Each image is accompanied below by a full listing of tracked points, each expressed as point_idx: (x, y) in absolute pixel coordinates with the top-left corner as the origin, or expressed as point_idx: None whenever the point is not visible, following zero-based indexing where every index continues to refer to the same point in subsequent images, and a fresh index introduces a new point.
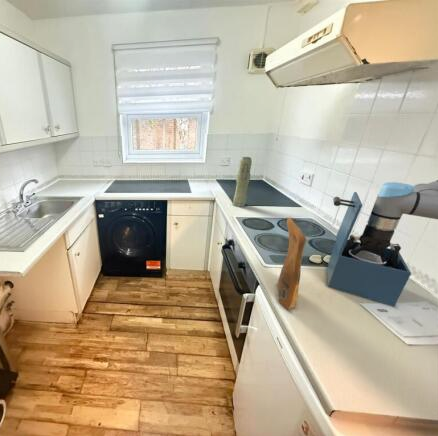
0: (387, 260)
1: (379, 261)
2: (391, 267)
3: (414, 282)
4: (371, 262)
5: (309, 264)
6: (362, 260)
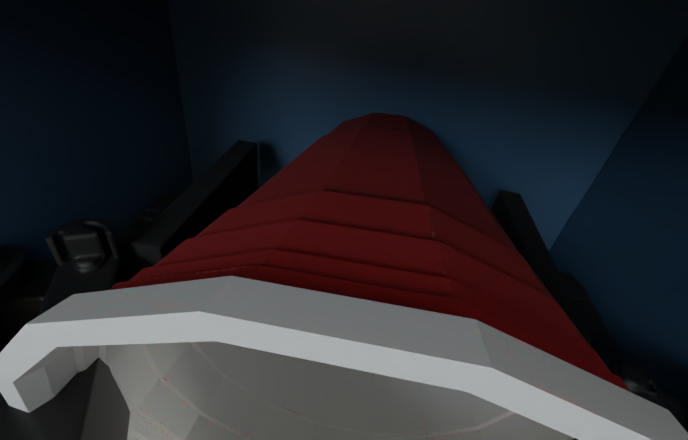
0: None
1: (166, 400)
2: (29, 310)
3: None
4: (314, 321)
5: None
6: (603, 386)
